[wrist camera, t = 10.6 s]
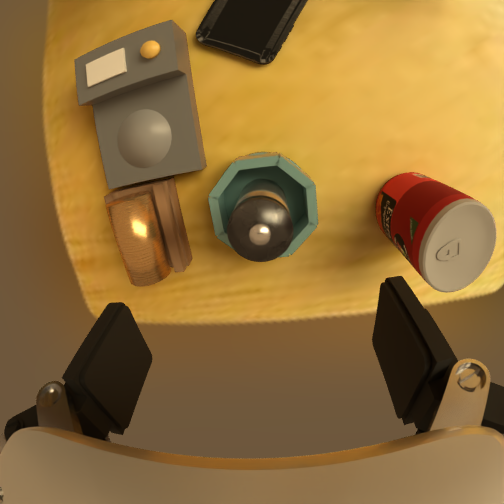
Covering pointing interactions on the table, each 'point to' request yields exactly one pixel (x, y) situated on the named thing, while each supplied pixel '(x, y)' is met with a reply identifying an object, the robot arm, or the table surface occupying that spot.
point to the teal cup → (278, 170)
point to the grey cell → (260, 222)
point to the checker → (143, 105)
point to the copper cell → (139, 238)
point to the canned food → (437, 229)
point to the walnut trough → (165, 219)
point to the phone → (249, 27)
